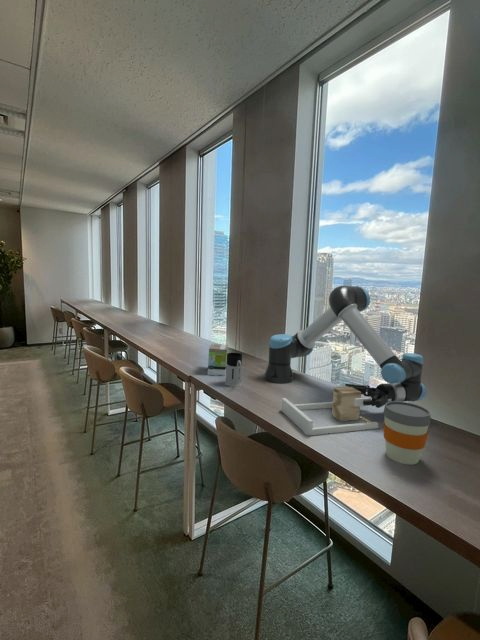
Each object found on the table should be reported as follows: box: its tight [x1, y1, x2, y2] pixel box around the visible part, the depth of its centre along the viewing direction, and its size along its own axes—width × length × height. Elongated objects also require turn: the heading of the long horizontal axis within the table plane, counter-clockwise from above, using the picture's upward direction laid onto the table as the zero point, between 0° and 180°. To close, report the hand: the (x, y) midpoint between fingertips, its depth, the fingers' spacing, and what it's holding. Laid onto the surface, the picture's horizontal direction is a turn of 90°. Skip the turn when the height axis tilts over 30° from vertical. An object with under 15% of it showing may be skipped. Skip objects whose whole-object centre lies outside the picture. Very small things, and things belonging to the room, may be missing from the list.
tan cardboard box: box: [331, 387, 362, 422], centre depth 125 cm, size 6×8×11 cm
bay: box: [280, 397, 381, 437], centre depth 123 cm, size 22×29×5 cm
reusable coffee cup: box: [382, 401, 431, 466], centre depth 97 cm, size 13×13×15 cm
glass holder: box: [224, 352, 243, 388], centre depth 157 cm, size 9×14×15 cm, turn 18°
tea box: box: [207, 343, 229, 377], centre depth 180 cm, size 15×10×15 cm
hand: (343, 396), depth 124 cm, fingers open, 13 cm apart
